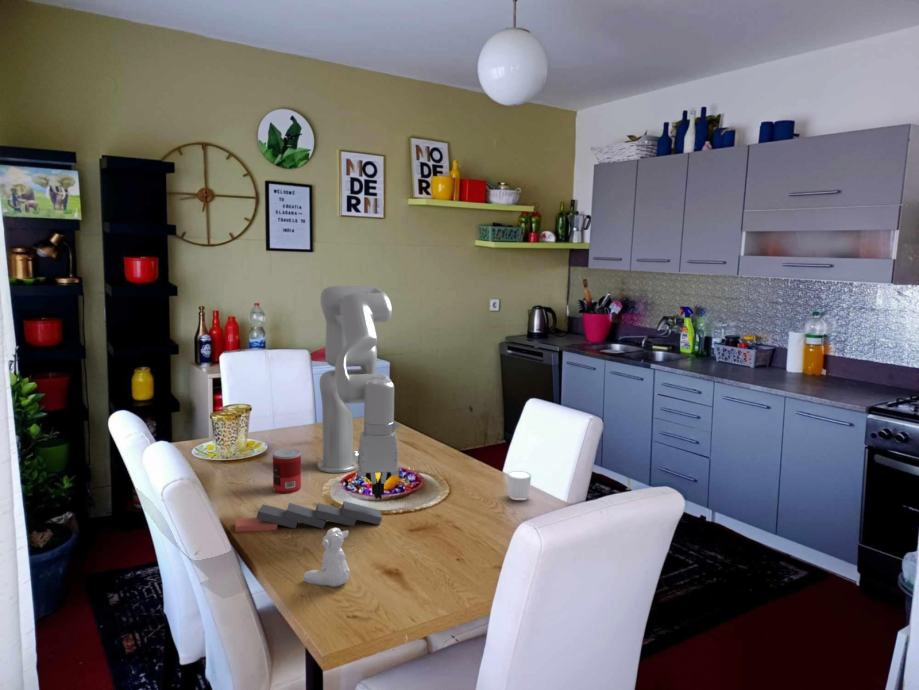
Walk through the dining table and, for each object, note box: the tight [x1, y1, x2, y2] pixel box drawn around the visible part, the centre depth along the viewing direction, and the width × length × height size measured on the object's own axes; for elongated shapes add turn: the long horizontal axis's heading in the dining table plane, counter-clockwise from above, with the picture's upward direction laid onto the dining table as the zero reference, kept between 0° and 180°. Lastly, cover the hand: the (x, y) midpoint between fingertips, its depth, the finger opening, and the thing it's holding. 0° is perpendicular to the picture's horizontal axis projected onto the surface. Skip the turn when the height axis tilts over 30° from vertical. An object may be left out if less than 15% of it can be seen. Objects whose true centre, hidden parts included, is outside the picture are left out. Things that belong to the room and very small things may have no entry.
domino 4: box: [340, 500, 383, 526], centre depth 173 cm, size 2×5×10 cm
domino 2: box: [284, 502, 327, 529], centre depth 170 cm, size 2×5×10 cm
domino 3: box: [314, 502, 357, 527], centre depth 172 cm, size 2×5×10 cm
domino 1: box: [255, 504, 300, 529], centre depth 170 cm, size 2×5×10 cm
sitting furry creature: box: [303, 527, 351, 588], centre depth 142 cm, size 10×9×12 cm
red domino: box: [234, 517, 279, 533], centre depth 169 cm, size 2×5×10 cm
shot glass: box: [507, 470, 532, 498], centre depth 193 cm, size 7×7×7 cm
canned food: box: [272, 448, 302, 495], centre depth 194 cm, size 8×8×11 cm
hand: (377, 496), depth 173 cm, fingers closed
